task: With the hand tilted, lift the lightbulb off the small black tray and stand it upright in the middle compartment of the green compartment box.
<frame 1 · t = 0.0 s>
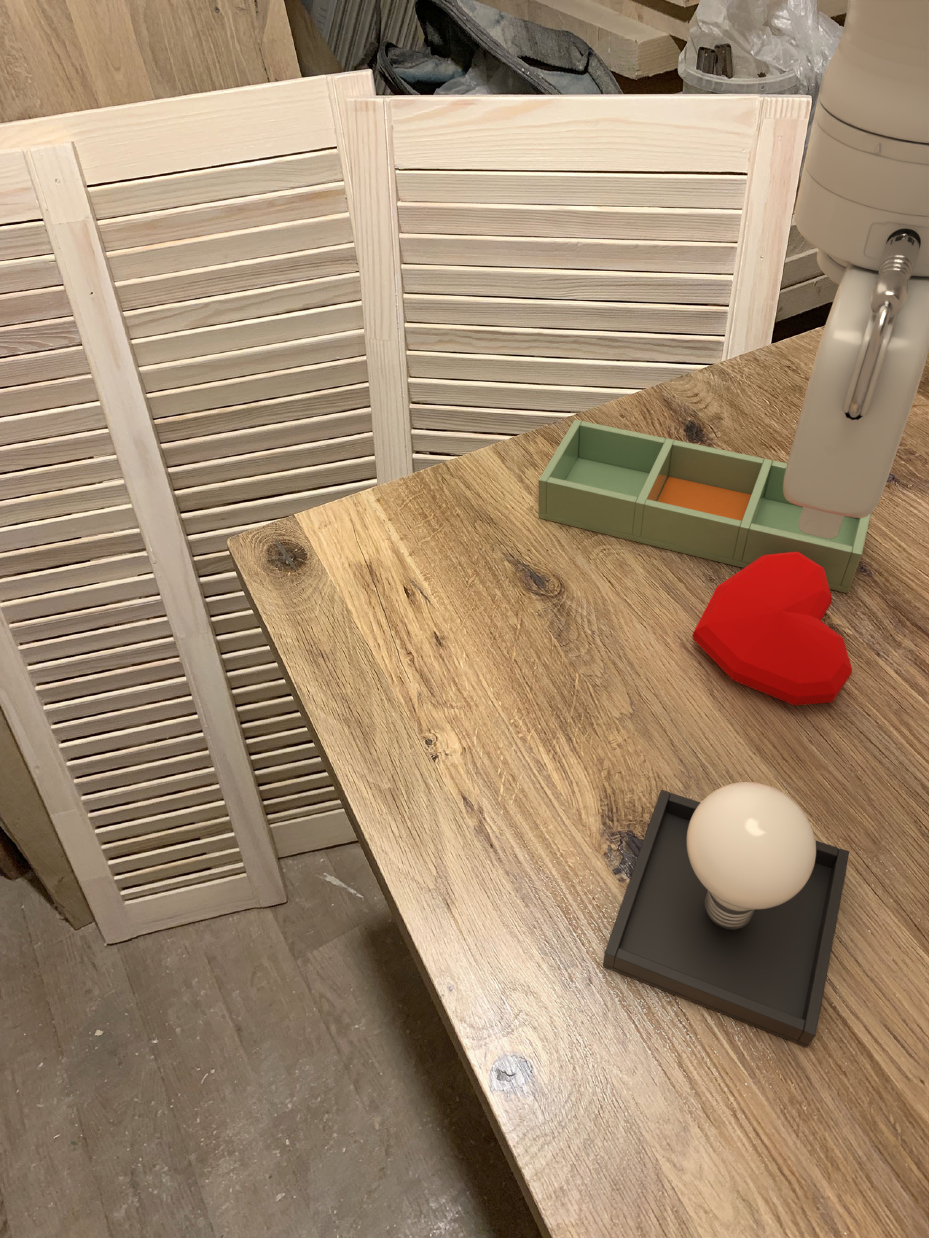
hand: (835, 467, 46), 22 cm above the table, tool pointing down, fingers open, 8 cm apart
tray: (725, 915, 54), on the table
heart: (759, 648, 67), on the table
lightbulb: (726, 913, 53), resting on tray
green compartment box: (698, 519, 77), on the table
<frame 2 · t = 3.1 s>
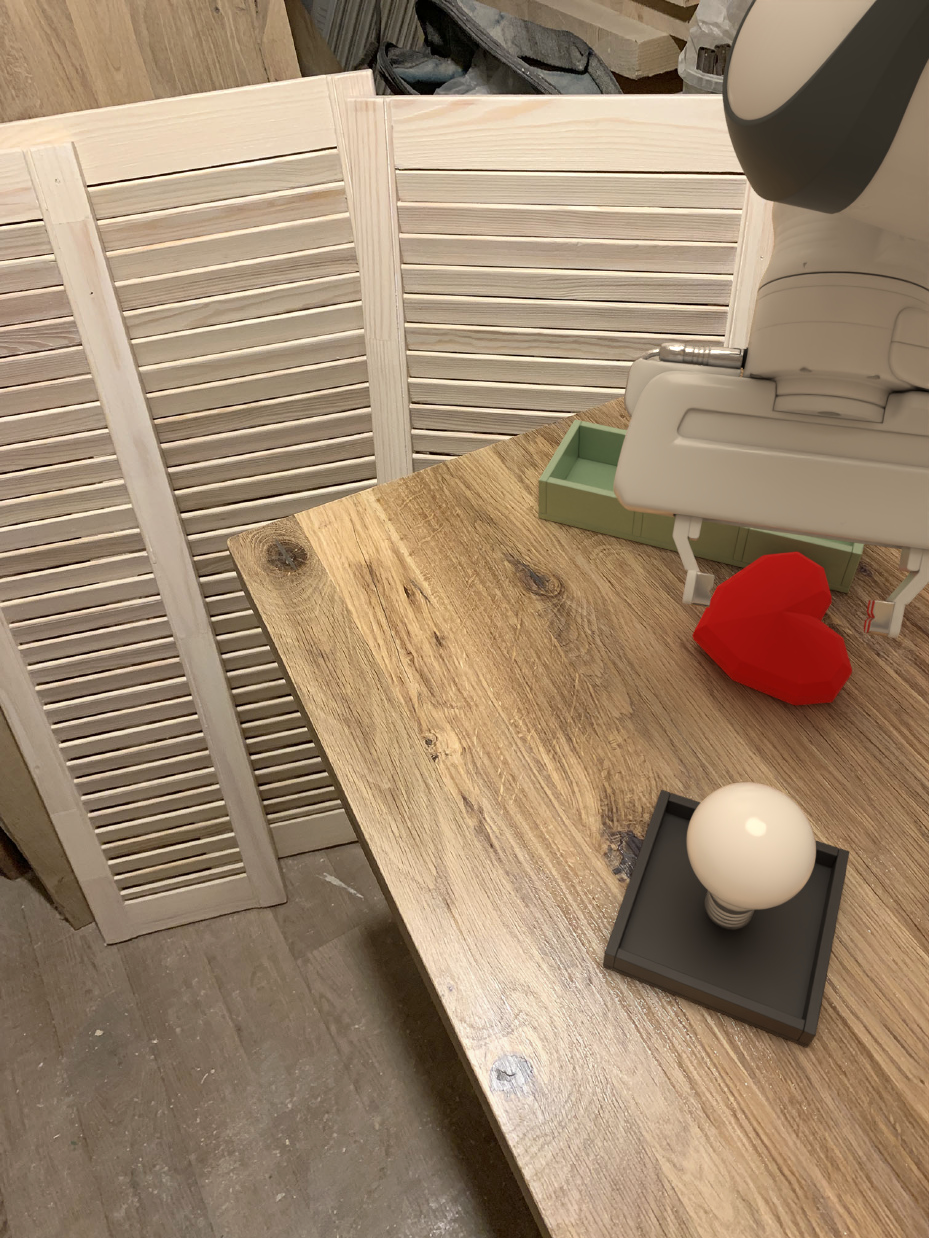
hand: (785, 620, 49), 15 cm above the table, tool tilted 45°, fingers open, 8 cm apart
nothing on the table moved.
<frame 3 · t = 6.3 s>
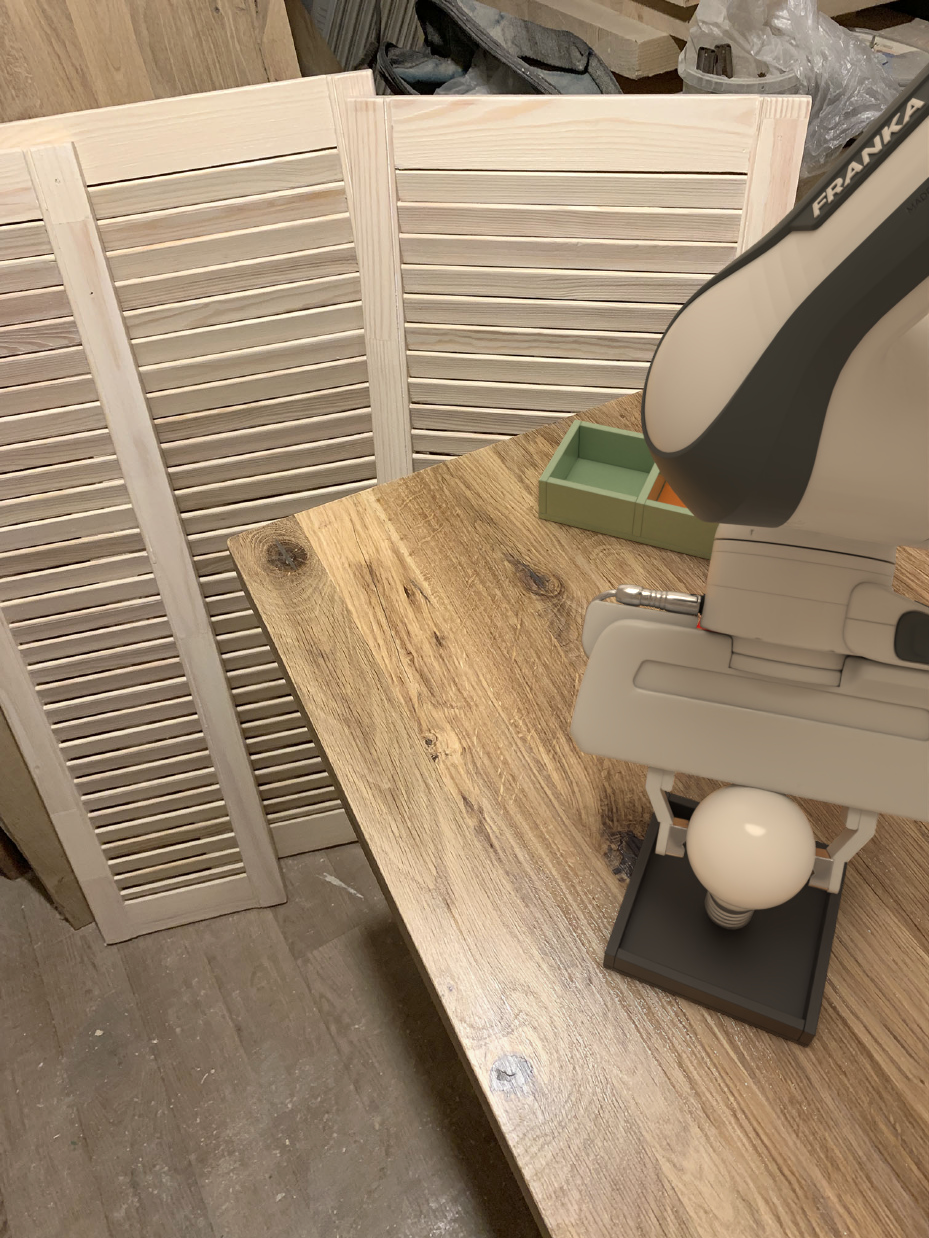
hand: (744, 870, 48), 7 cm above the table, tool tilted 45°, fingers closed on lightbulb, 6 cm apart
lightbulb: (726, 913, 53), resting on tray, touching gripper
everything else where it was.
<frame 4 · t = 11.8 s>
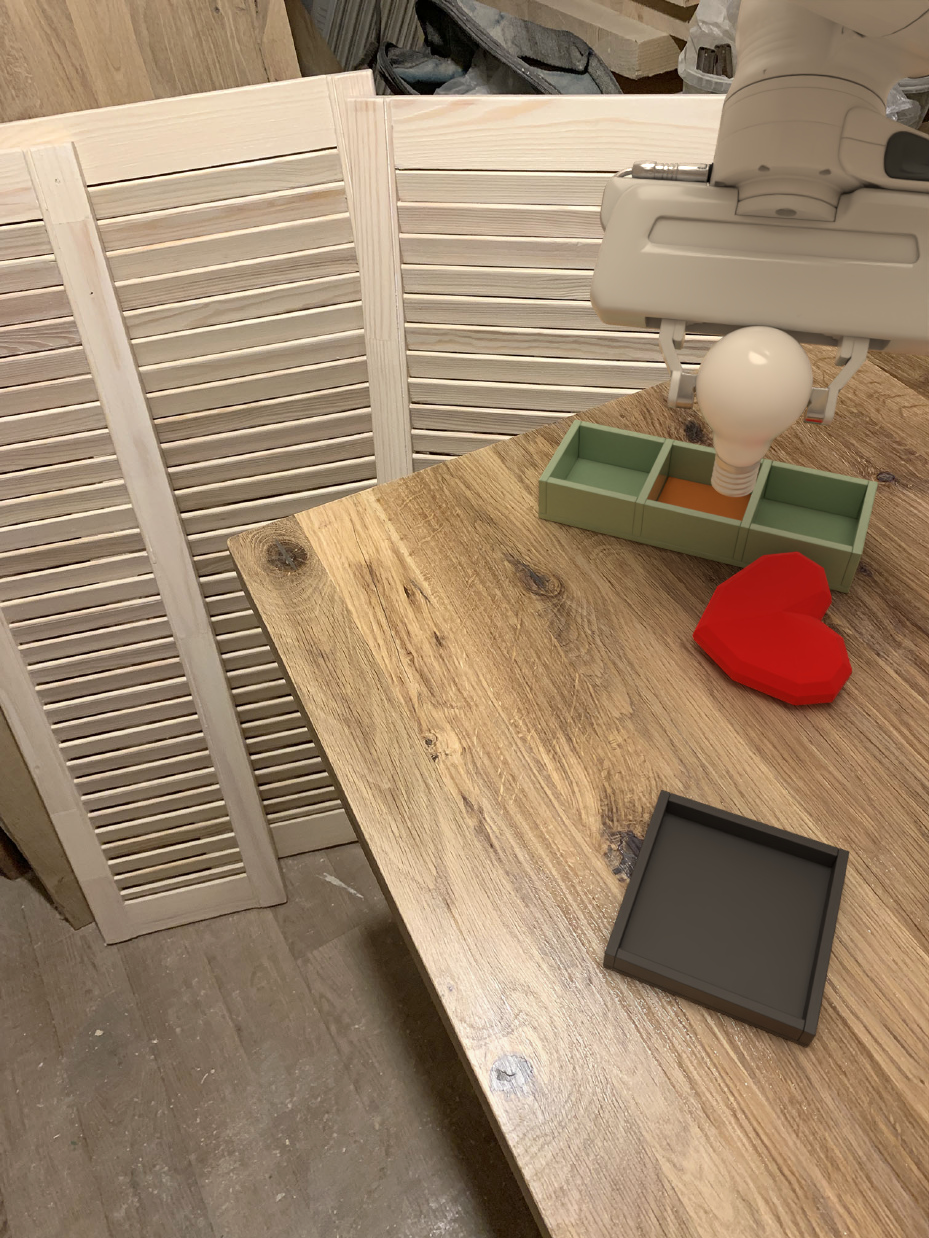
hand: (748, 415, 53), 20 cm above the table, tool tilted 45°, fingers closed on lightbulb, 6 cm apart
lightbulb: (730, 493, 58), point 13 cm above the table, touching gripper
everything else where it was.
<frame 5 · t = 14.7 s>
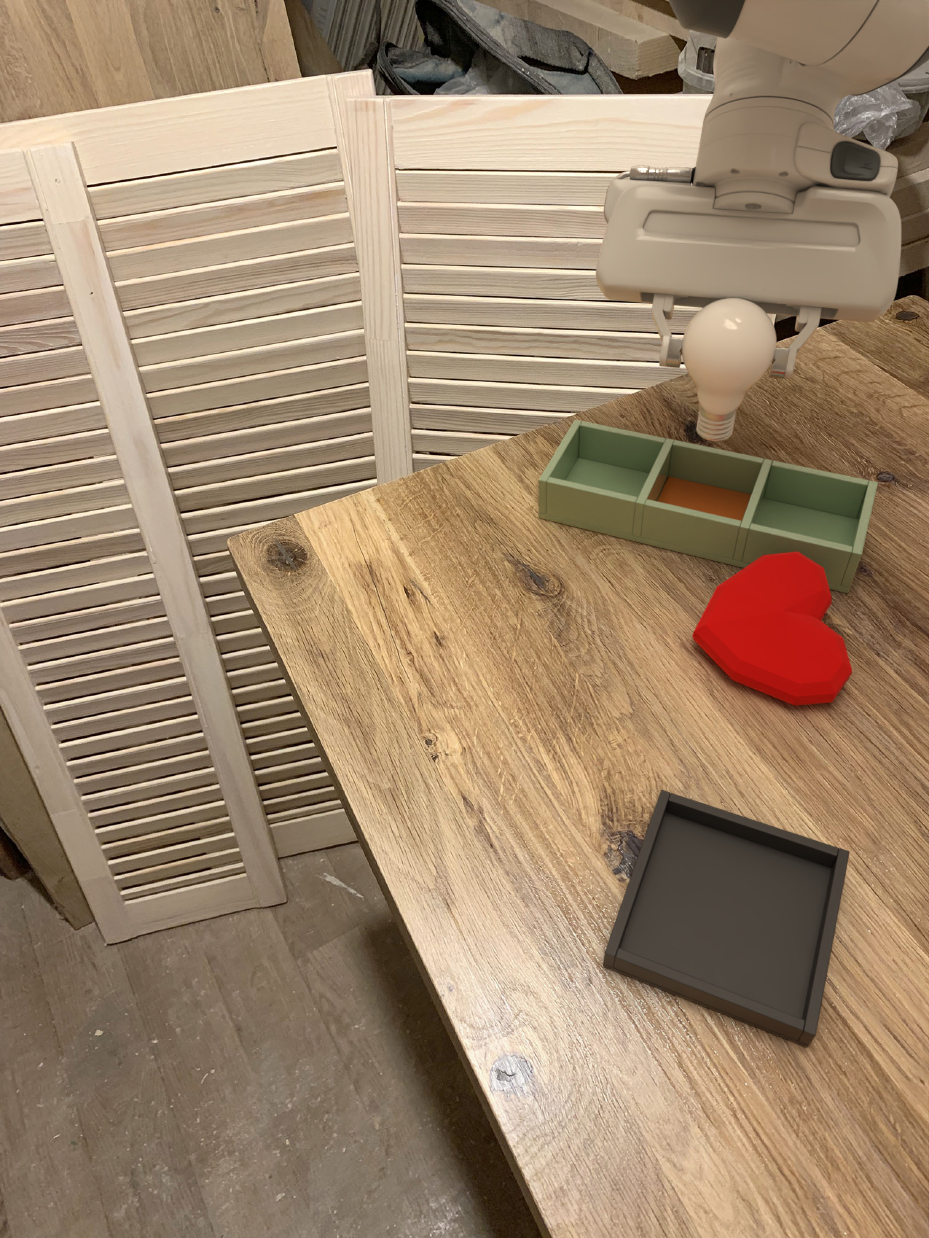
hand: (724, 371, 66), 14 cm above the table, tool tilted 45°, fingers closed on lightbulb, 6 cm apart
lightbulb: (712, 439, 71), point 8 cm above the table, touching gripper
everything else where it was.
when the fingers open (7 cm above the table, at t = 17.3 s): lightbulb stays where it is, resting on green compartment box.
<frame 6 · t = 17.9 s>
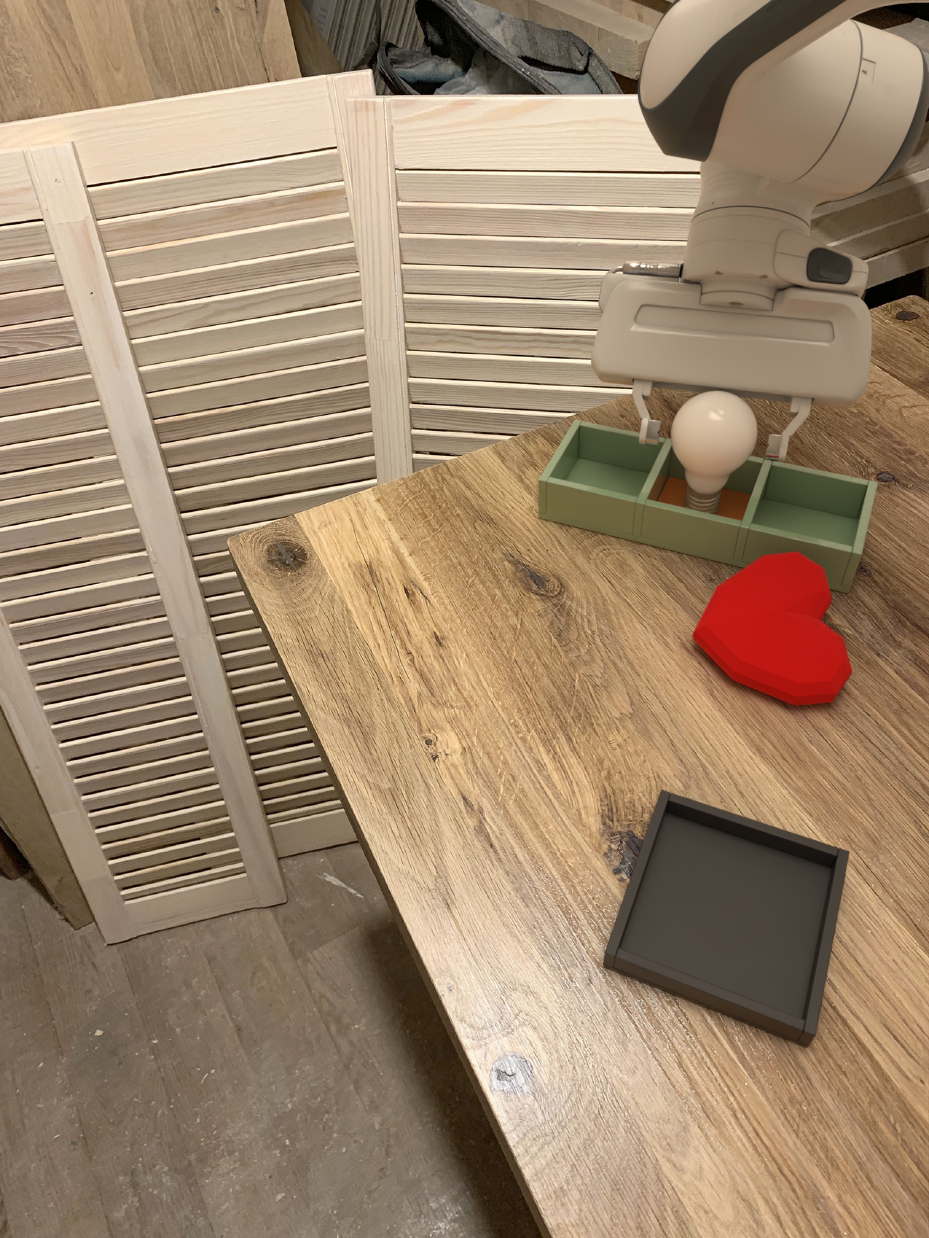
hand: (710, 452, 71), 7 cm above the table, tool tilted 45°, fingers open, 8 cm apart
lightbulb: (700, 513, 76), point 1 cm above the table, touching green compartment box
everything else where it was.
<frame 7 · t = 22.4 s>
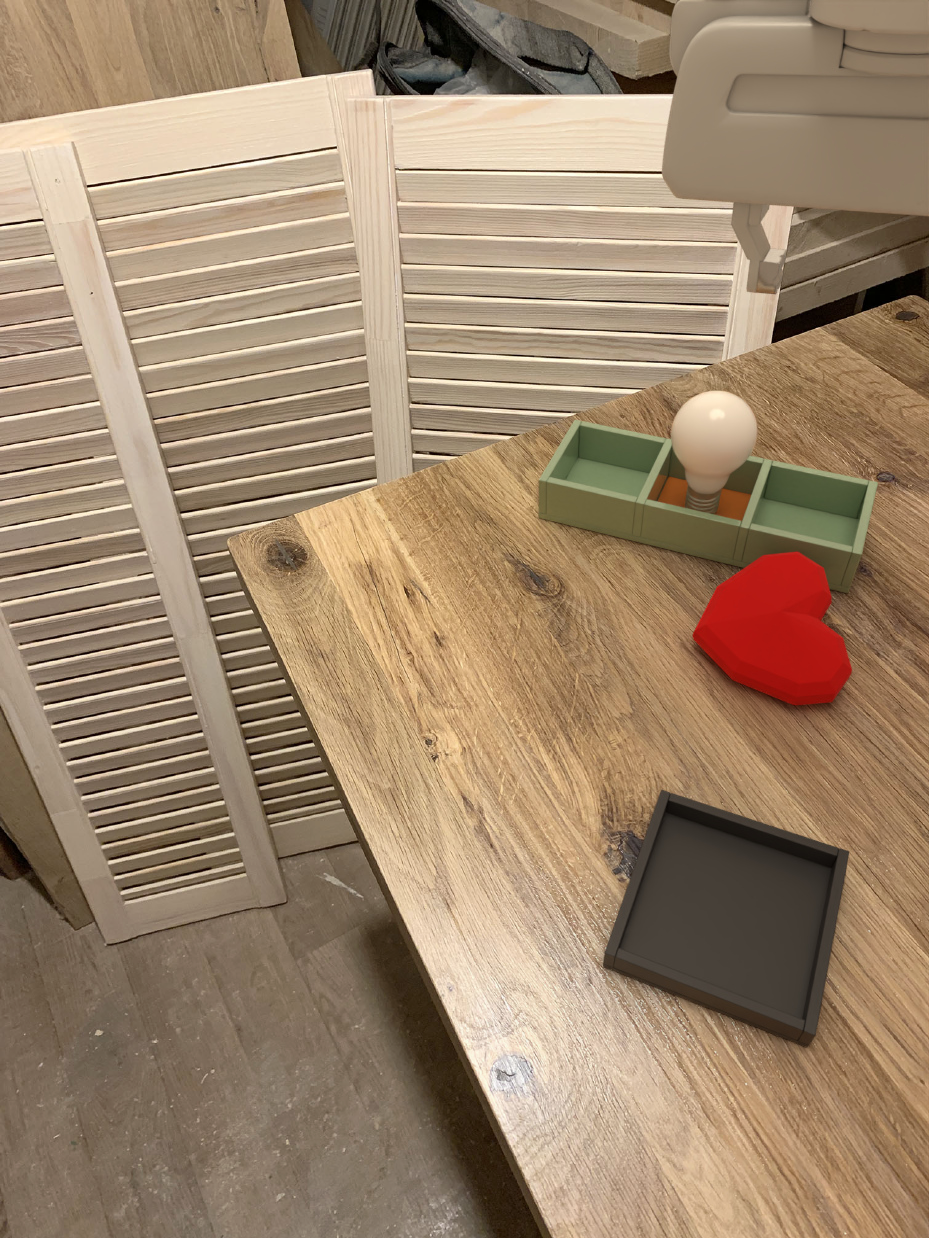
hand: (860, 299, 46), 28 cm above the table, tool pointing down, fingers open, 8 cm apart
nothing on the table moved.
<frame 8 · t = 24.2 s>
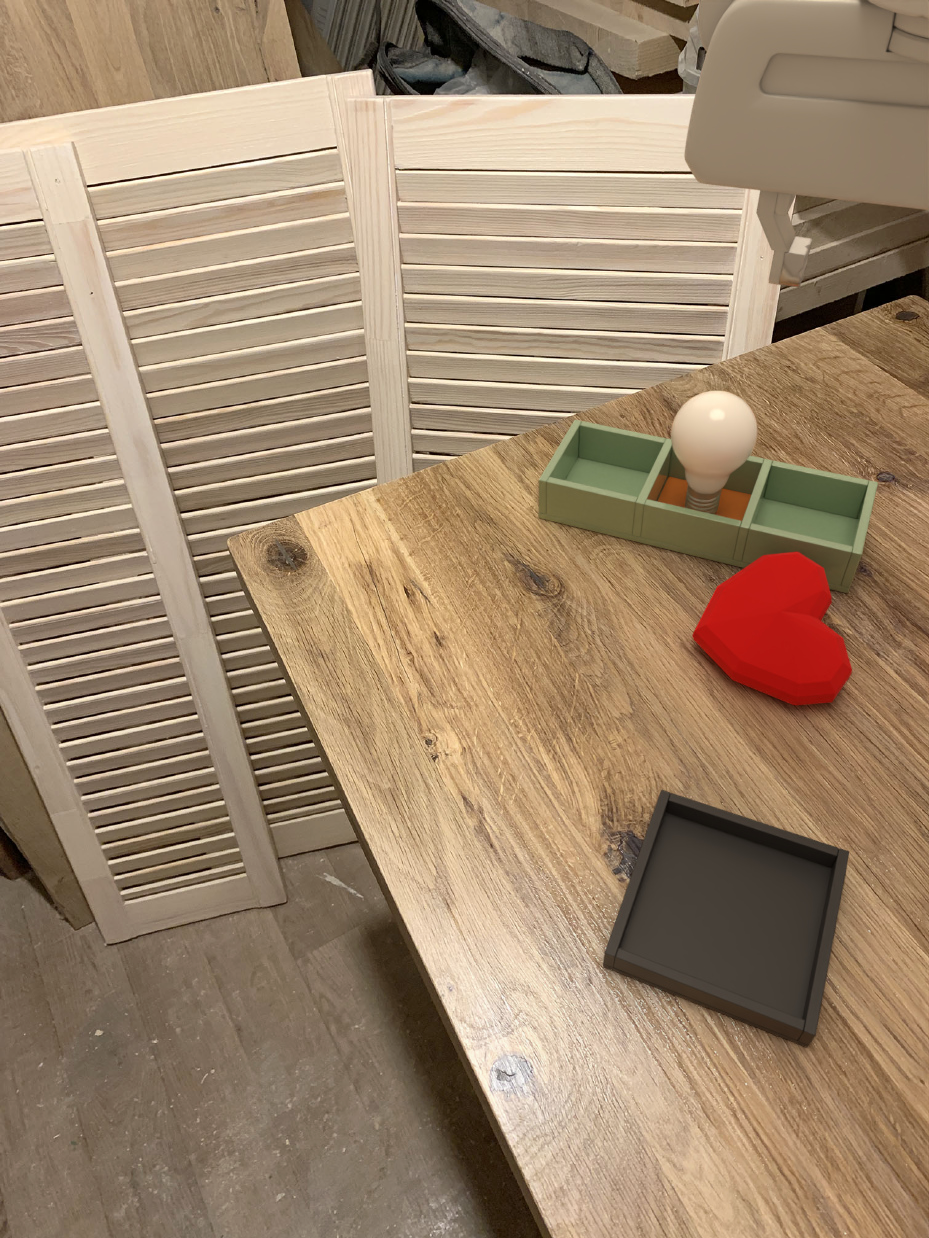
hand: (889, 295, 43), 29 cm above the table, tool pointing down, fingers open, 8 cm apart
nothing on the table moved.
at the end: lightbulb 0.0 cm off-centre in the green compartment box, point 0.6 cm above the green compartment box's base; lightbulb tilted 0°; the gripper is holding nothing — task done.
